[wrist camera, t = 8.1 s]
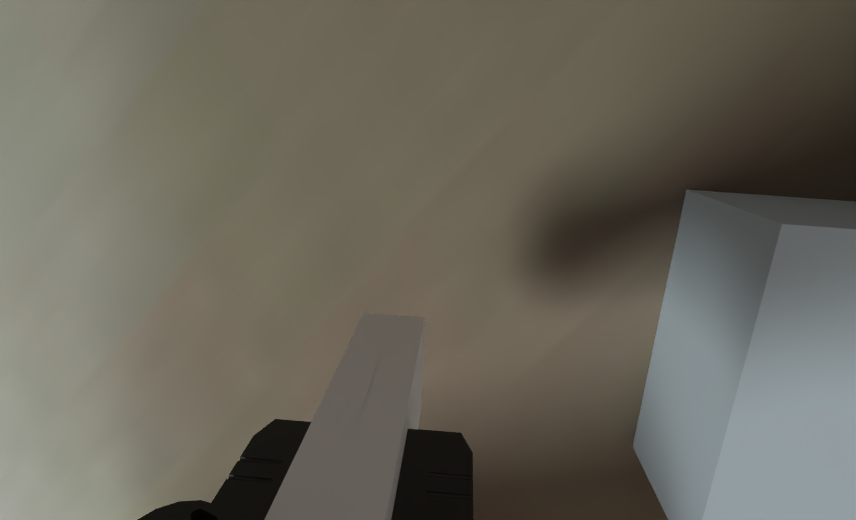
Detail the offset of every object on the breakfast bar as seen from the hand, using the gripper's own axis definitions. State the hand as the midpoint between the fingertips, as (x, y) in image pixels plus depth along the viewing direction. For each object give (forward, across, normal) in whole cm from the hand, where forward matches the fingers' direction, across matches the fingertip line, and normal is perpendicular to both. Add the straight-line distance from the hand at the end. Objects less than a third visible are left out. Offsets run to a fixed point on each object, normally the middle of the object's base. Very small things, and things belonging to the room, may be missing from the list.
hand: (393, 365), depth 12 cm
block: (+5, +12, 0) cm, 13 cm away
